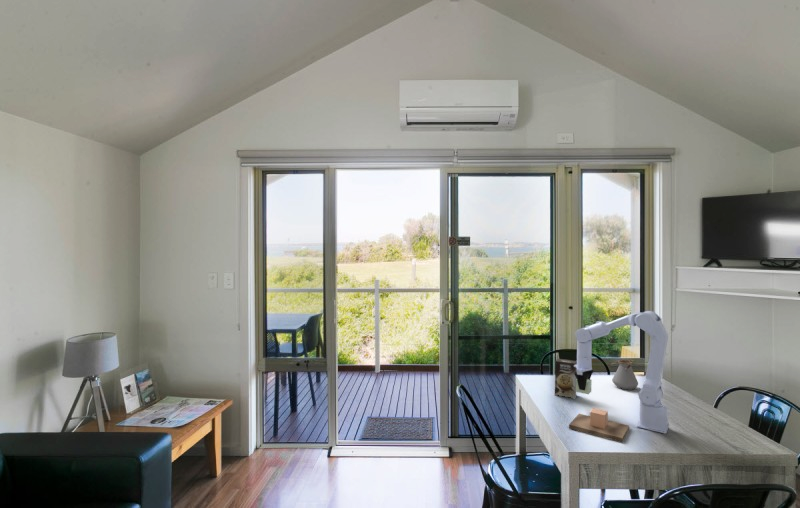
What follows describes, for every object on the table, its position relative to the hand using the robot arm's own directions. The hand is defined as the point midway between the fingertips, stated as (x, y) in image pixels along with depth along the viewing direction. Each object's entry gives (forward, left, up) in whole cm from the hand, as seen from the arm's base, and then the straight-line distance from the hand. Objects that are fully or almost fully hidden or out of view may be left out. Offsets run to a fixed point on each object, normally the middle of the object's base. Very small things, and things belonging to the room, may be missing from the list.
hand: (583, 388), depth 176 cm
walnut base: (-10, +18, -9) cm, 22 cm away
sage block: (0, 0, -2) cm, 2 cm away
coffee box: (+11, -13, -9) cm, 19 cm away
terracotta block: (-10, +18, -7) cm, 22 cm away
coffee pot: (-10, -40, -9) cm, 42 cm away
